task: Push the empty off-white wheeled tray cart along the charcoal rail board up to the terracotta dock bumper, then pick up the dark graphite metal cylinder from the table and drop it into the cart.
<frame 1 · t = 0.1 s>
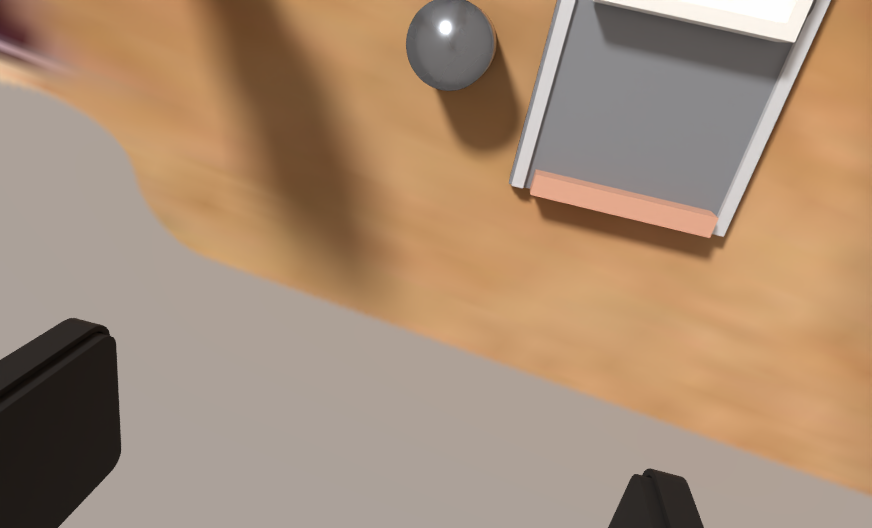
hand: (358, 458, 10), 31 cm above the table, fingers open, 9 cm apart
part: (458, 44, 36), on the table
rail board: (682, 9, 33), on the table
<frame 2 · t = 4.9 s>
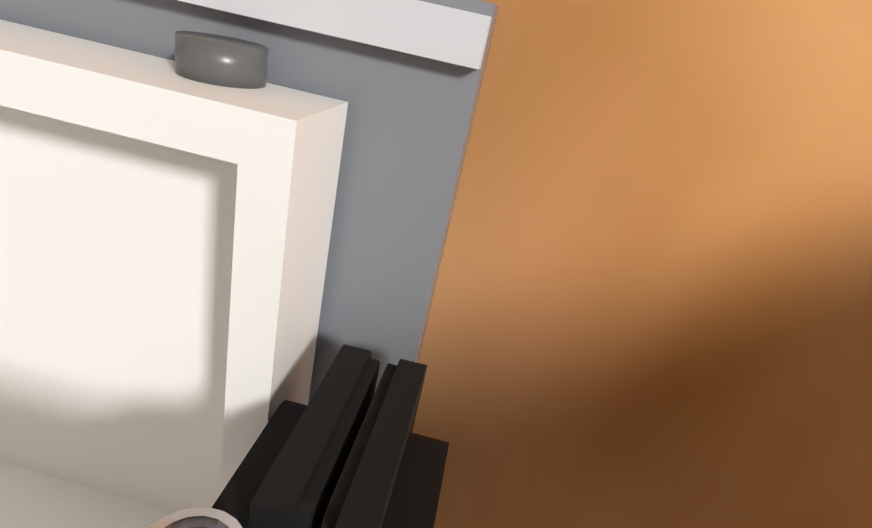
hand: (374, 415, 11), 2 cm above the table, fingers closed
cart: (12, 315, 11), point 2 cm above the table, slide at 0.7 cm, touching gripper
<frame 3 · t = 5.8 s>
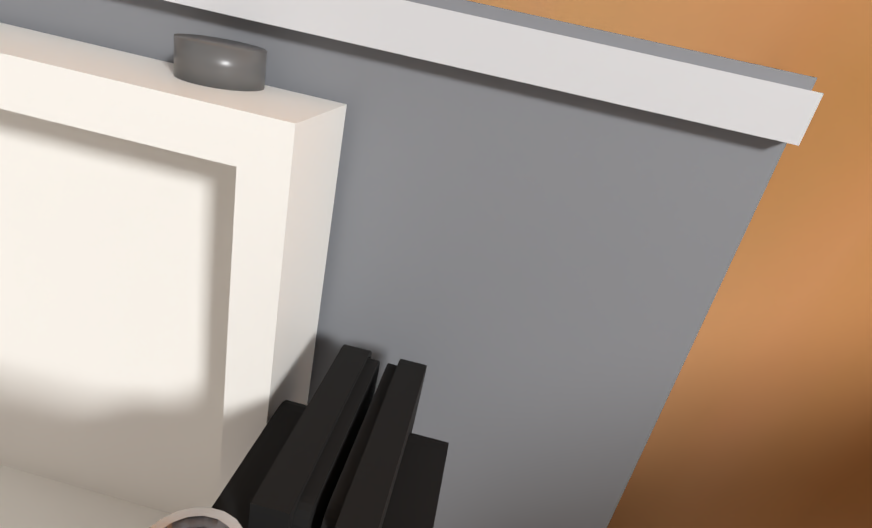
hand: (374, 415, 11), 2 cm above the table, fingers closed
cart: (10, 317, 11), point 2 cm above the table, slide at 5.9 cm, touching gripper
rail board: (118, 277, 13), on the table
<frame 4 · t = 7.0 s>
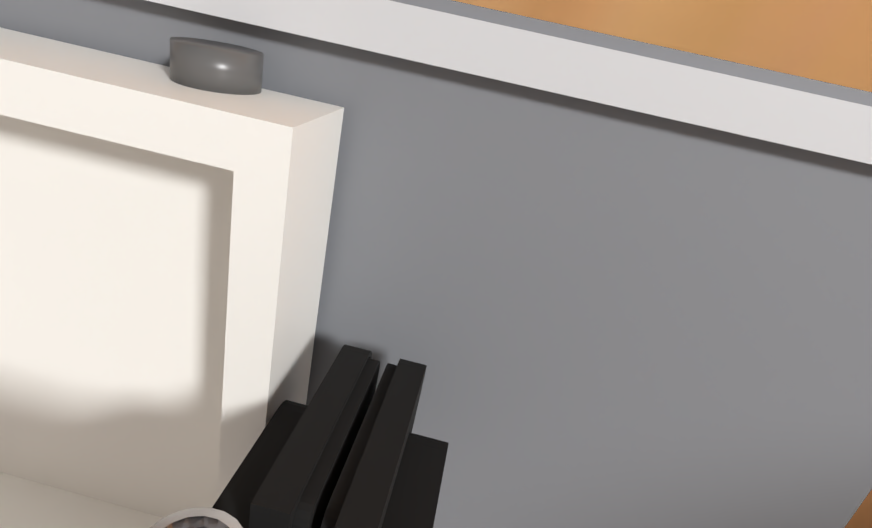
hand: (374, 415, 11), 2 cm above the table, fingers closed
cart: (5, 323, 11), point 2 cm above the table, slide at 10.4 cm, touching gripper
rail board: (293, 327, 13), on the table
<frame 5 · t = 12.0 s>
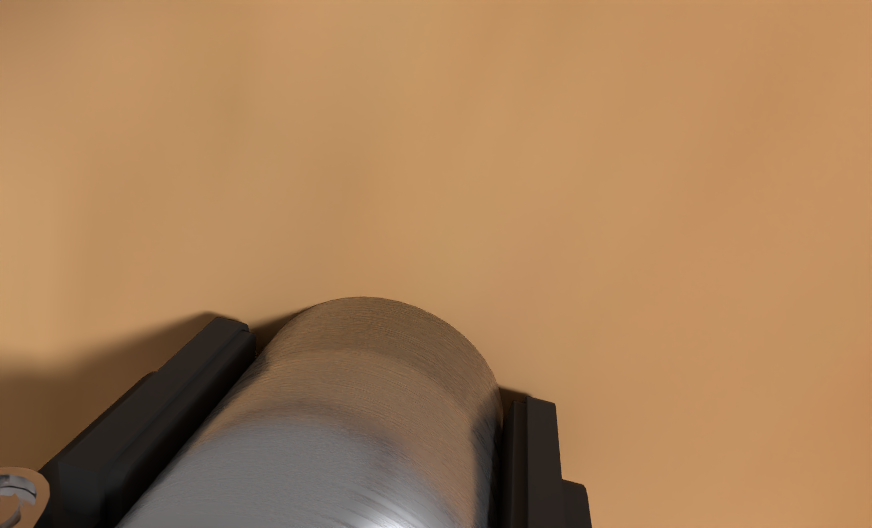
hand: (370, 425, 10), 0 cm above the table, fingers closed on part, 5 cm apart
part: (377, 409, 11), on the table, touching gripper
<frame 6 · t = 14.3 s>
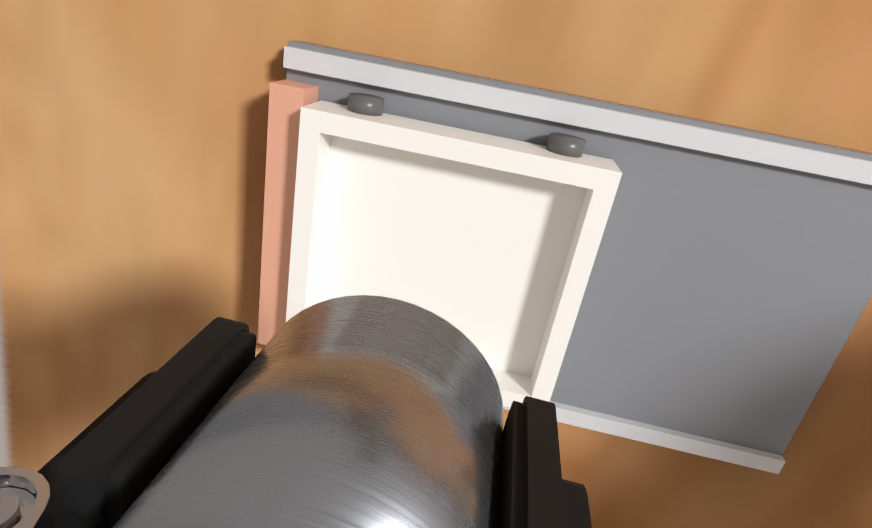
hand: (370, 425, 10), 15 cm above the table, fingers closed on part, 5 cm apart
cart: (437, 262, 23), point 2 cm above the table, slide at 10.3 cm
part: (377, 408, 11), point 15 cm above the table, touching gripper
rail board: (551, 266, 25), on the table
when the fingers open (4 cm above the table, at t = 16.9 s): part drops 2 cm, resting on cart.
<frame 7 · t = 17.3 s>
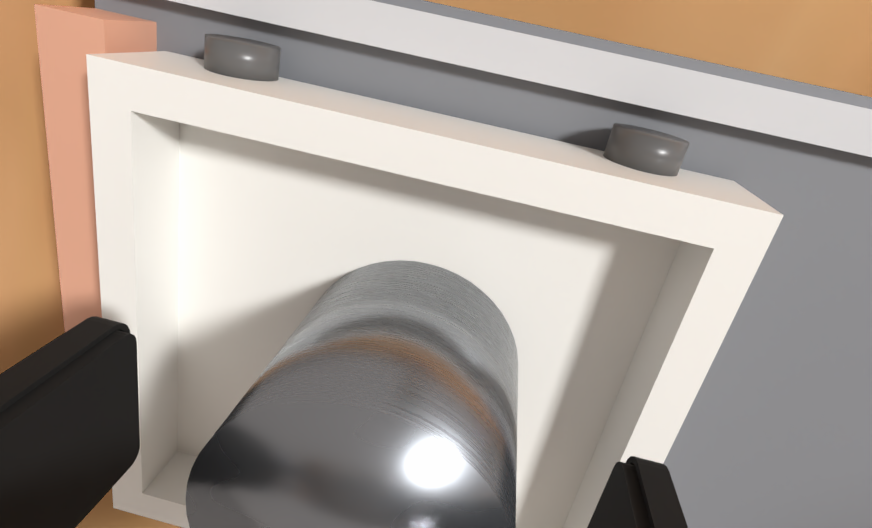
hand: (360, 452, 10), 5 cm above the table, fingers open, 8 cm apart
cart: (386, 363, 12), point 2 cm above the table, slide at 10.2 cm, touching part
part: (409, 360, 13), point 2 cm above the table, touching cart
rail board: (587, 359, 14), on the table
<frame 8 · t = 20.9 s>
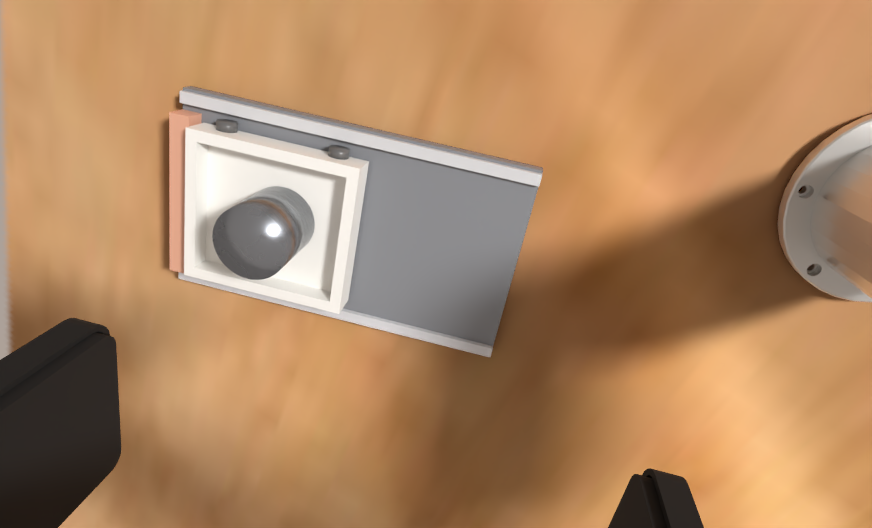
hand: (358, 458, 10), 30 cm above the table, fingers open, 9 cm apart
cart: (273, 220, 39), point 2 cm above the table, slide at 10.2 cm, touching part
part: (281, 220, 39), point 2 cm above the table, touching cart
rail board: (349, 225, 41), on the table
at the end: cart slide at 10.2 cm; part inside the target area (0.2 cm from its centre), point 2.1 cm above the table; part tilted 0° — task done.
